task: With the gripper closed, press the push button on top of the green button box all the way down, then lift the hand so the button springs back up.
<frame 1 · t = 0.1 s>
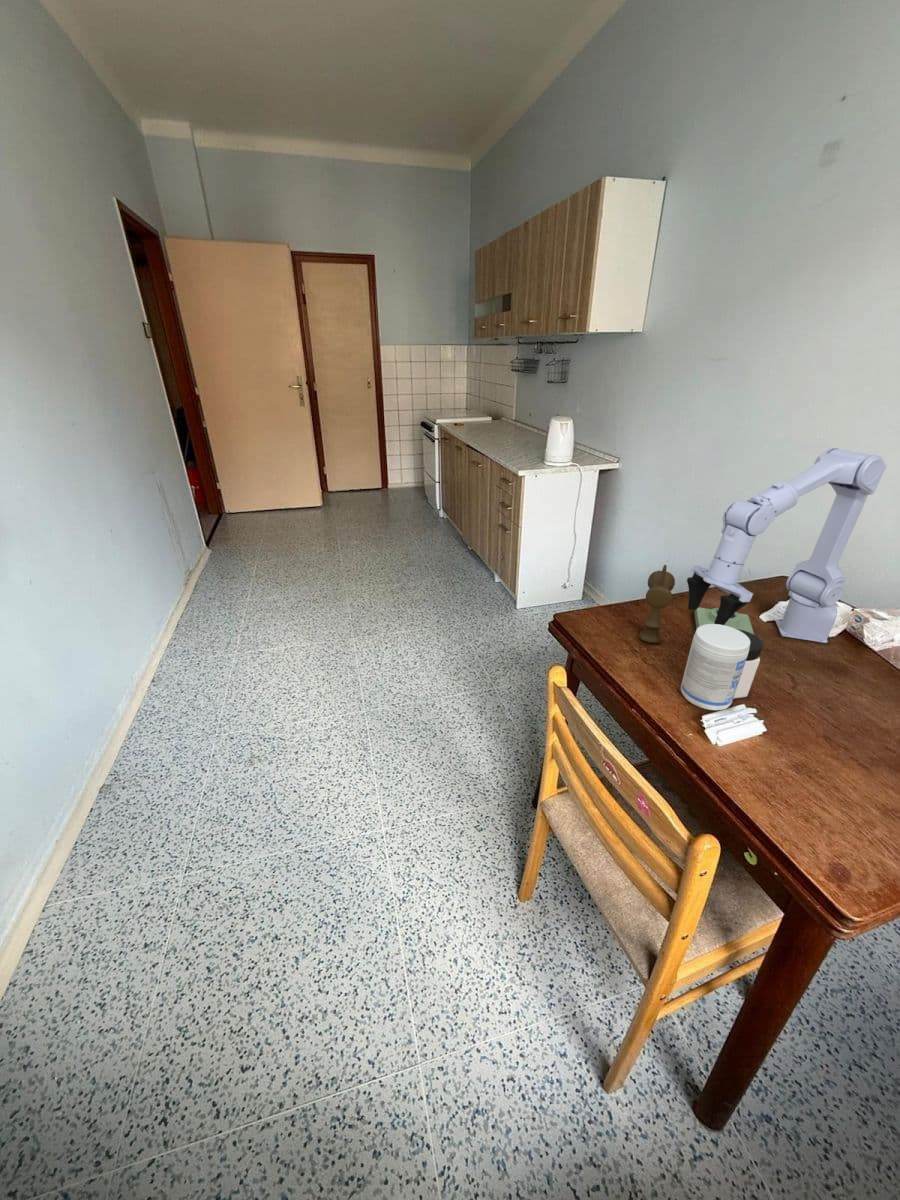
hand: (705, 617, 104), 11 cm above the table, tool pointing down, fingers open, 7 cm apart
kendama: (649, 639, 115), on the table
supplement tub: (704, 697, 96), on the table, touching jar
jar: (723, 687, 99), on the table, touching supplement tub
green button box: (721, 627, 119), on the table
push button: (726, 612, 117), point 4 cm above the table, slide at 0.1 cm
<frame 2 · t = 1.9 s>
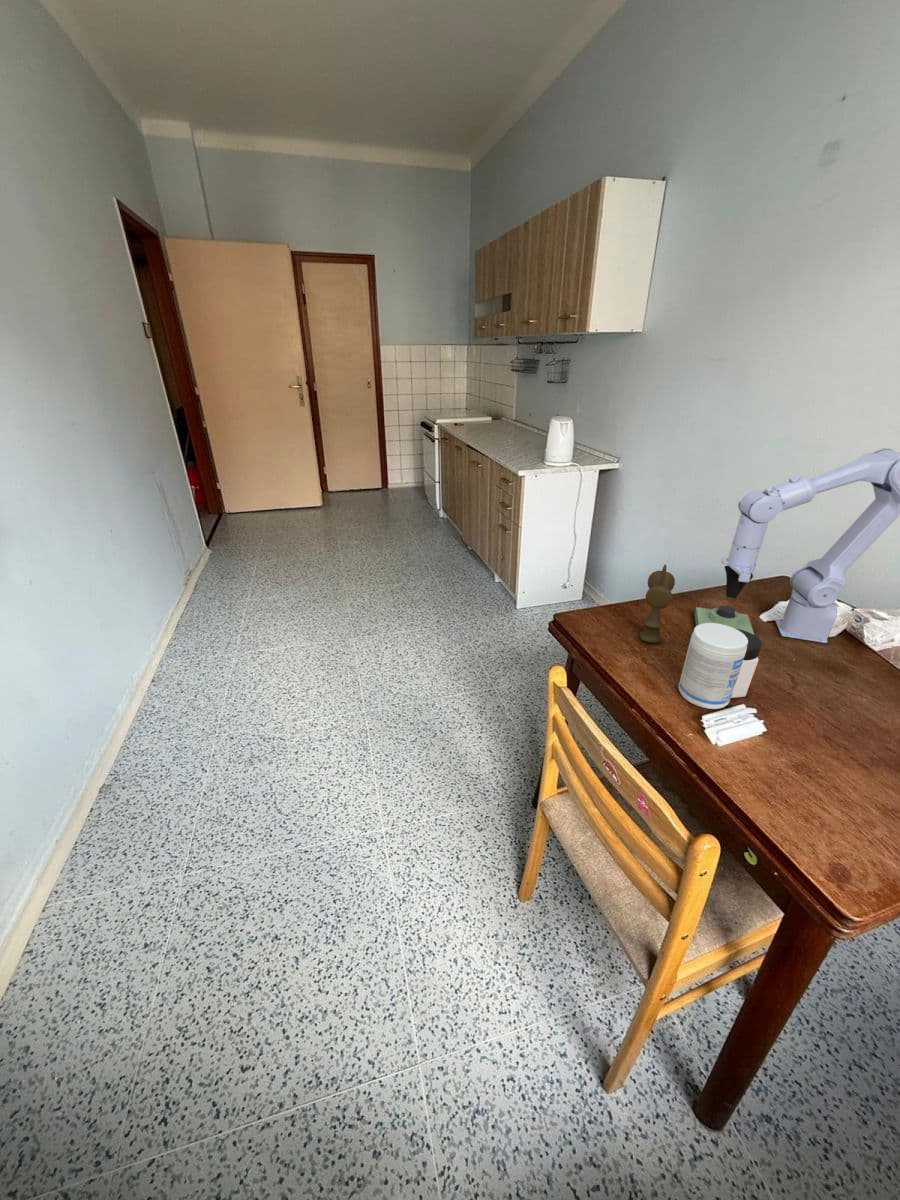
hand: (730, 596, 115), 9 cm above the table, tool pointing down, fingers closed
nothing on the table moved.
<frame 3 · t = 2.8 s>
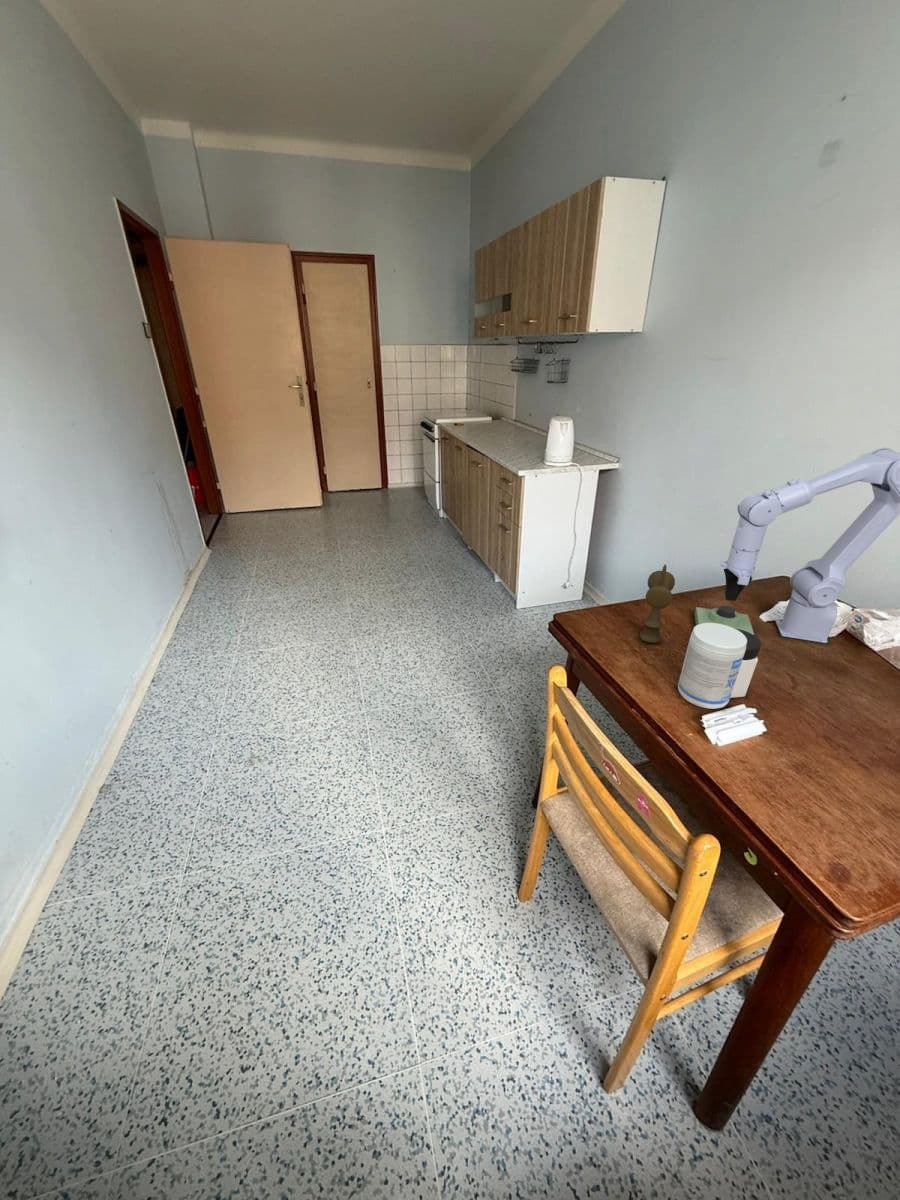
hand: (730, 599, 116), 8 cm above the table, tool pointing down, fingers closed
nothing on the table moved.
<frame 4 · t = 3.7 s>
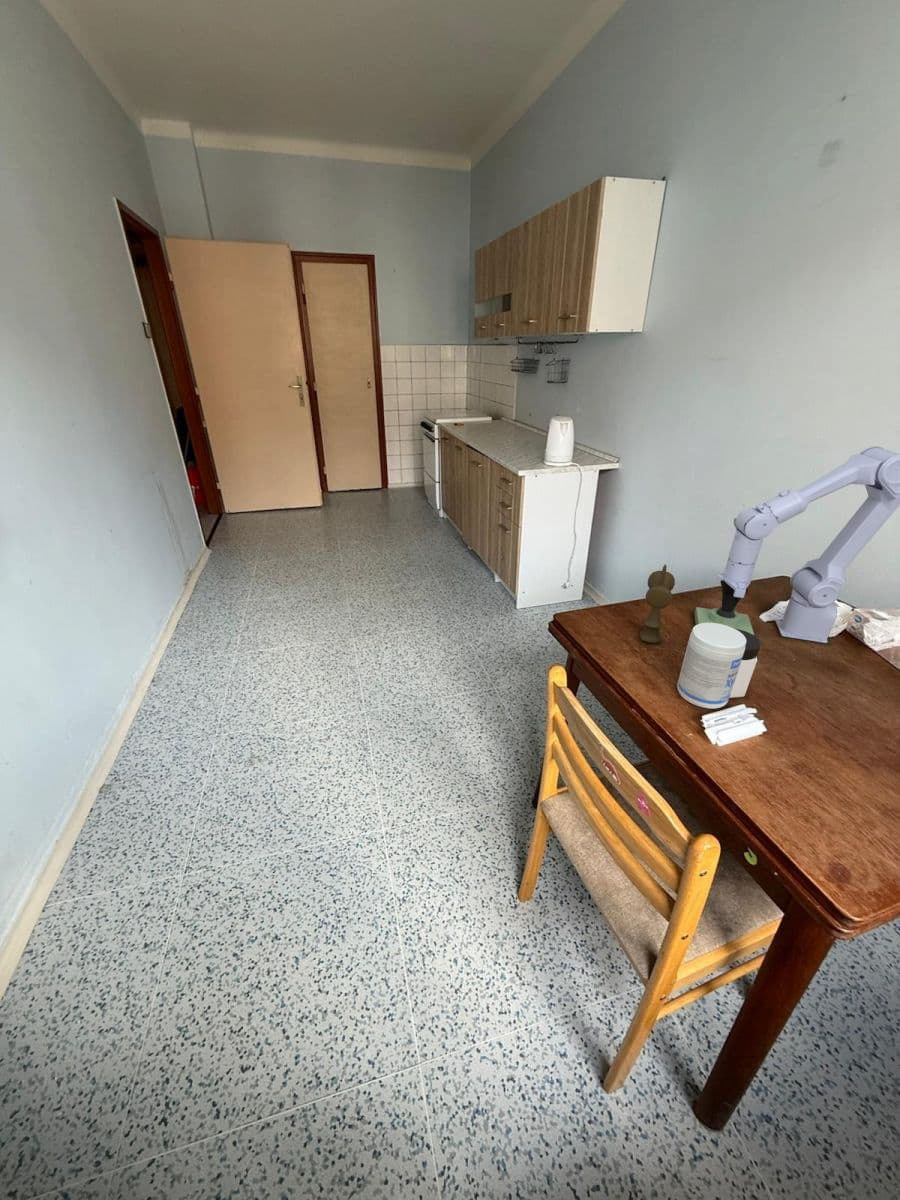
hand: (726, 610, 117), 5 cm above the table, tool pointing down, fingers closed, pressing on push button
push button: (725, 613, 118), point 4 cm above the table, slide at -0.3 cm, touching gripper
everything else where it was.
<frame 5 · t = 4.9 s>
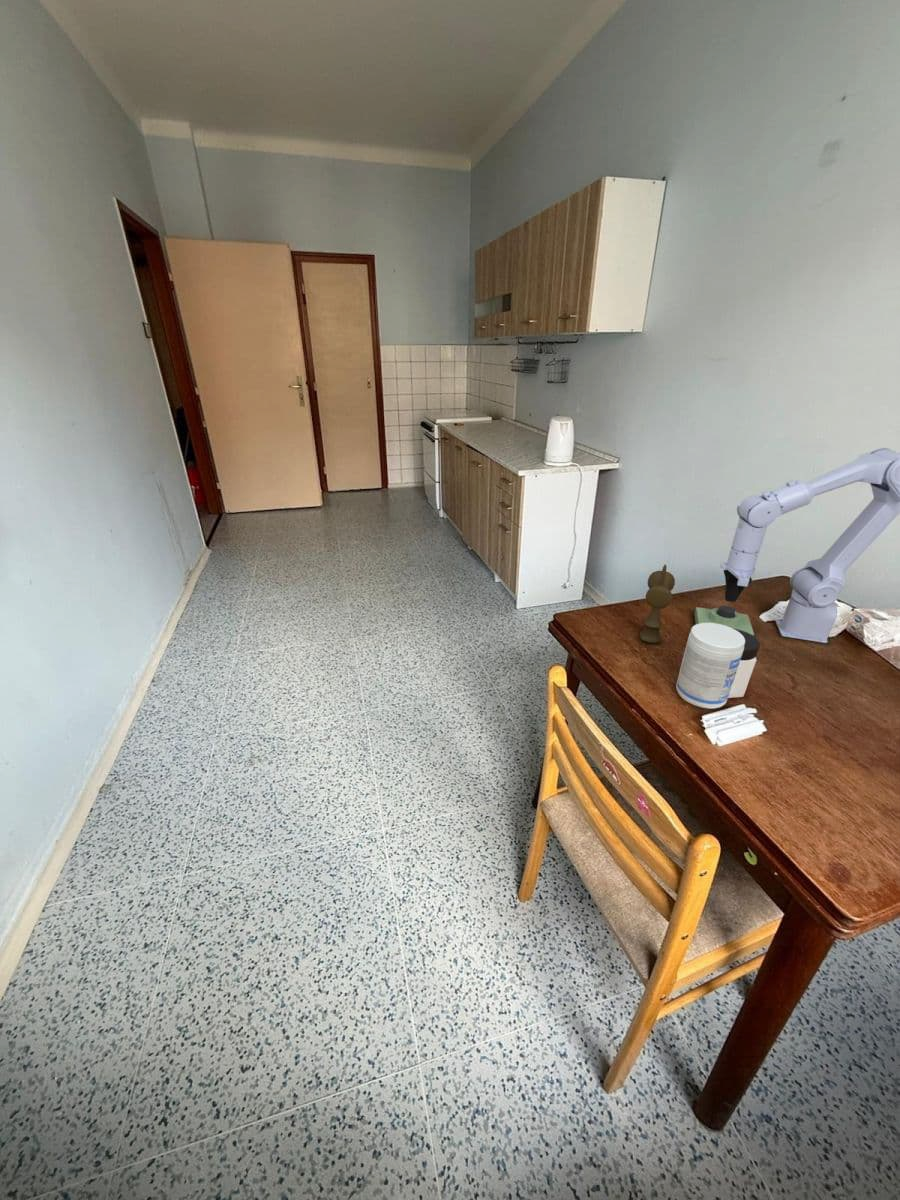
hand: (730, 600, 116), 8 cm above the table, tool pointing down, fingers closed
push button: (726, 612, 117), point 4 cm above the table, slide at 0.1 cm
everything else where it was.
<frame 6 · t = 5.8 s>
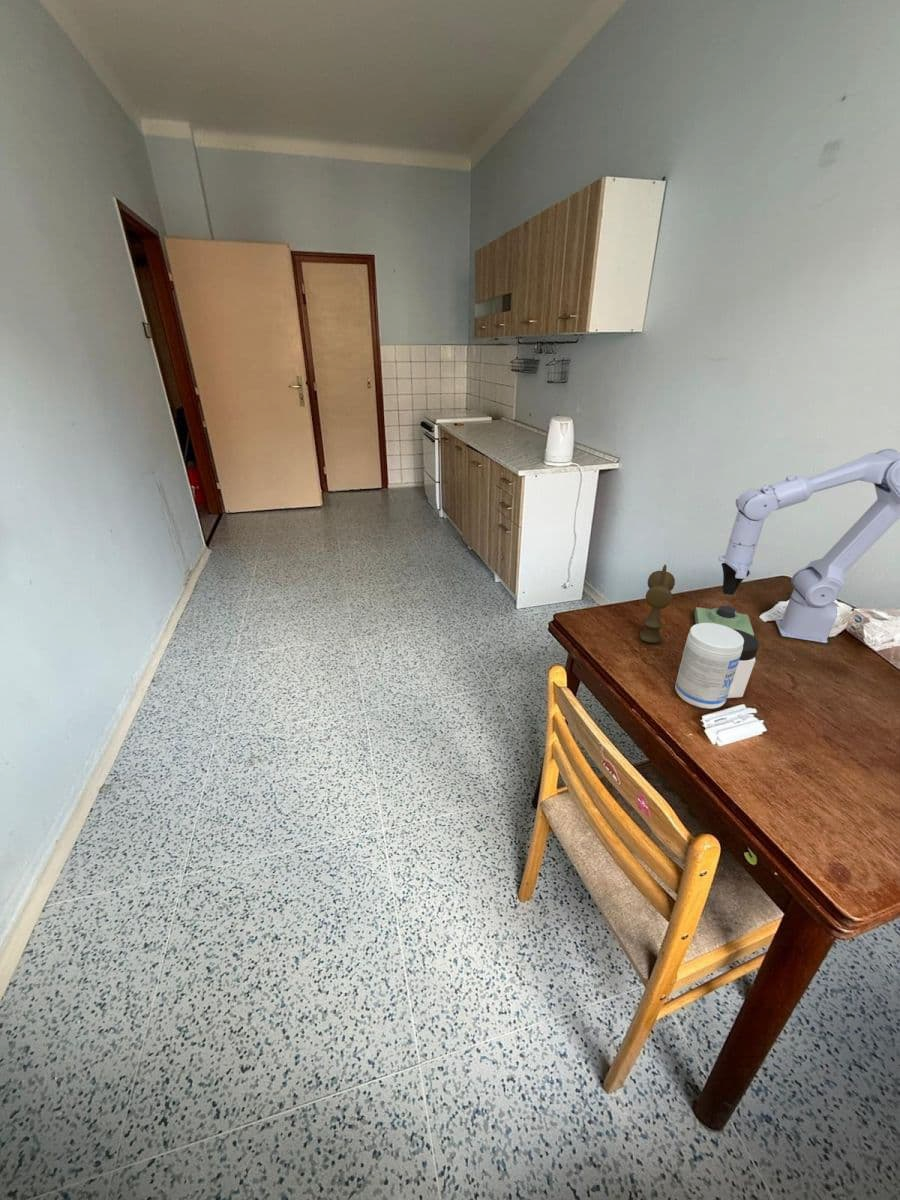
hand: (727, 593, 117), 9 cm above the table, tool pointing down, fingers closed
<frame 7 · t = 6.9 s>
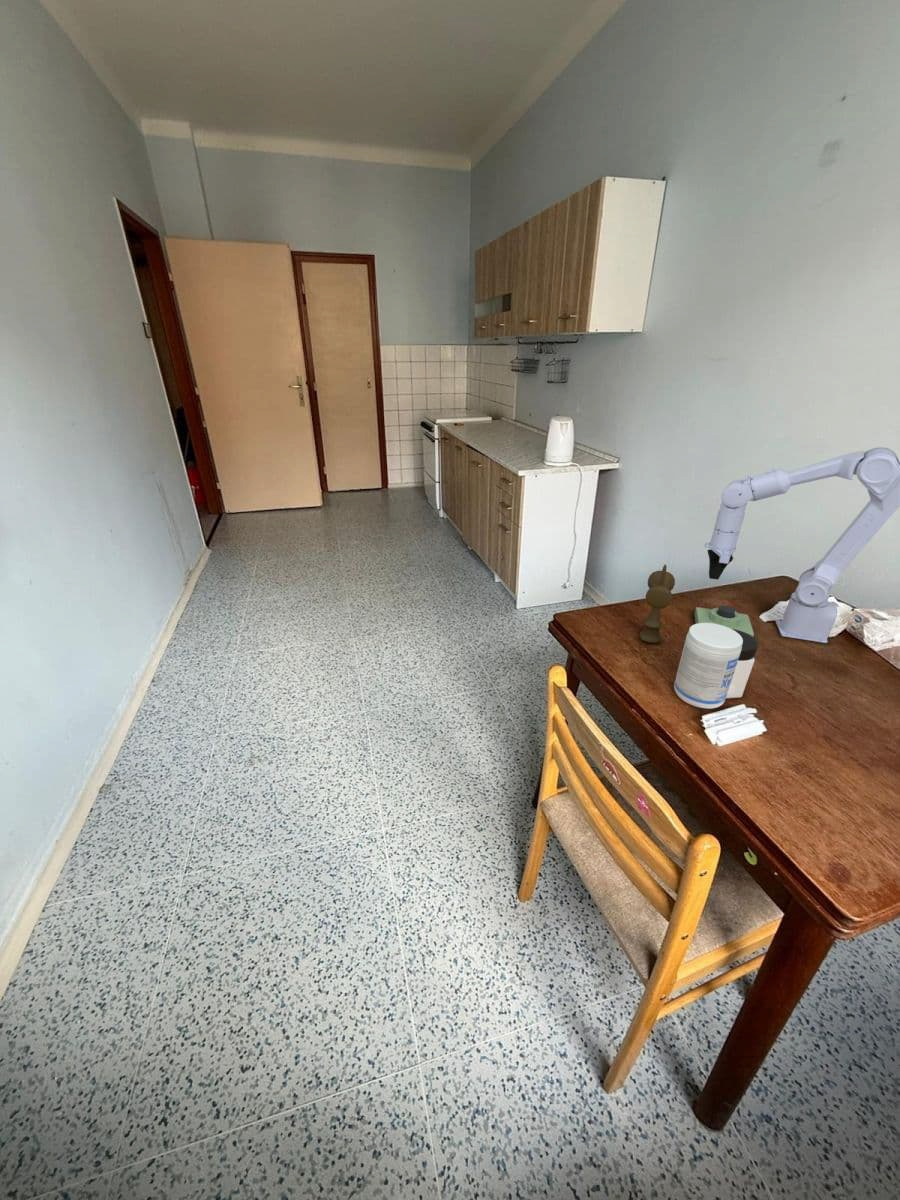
hand: (713, 578, 124), 9 cm above the table, tool pointing down, fingers closed
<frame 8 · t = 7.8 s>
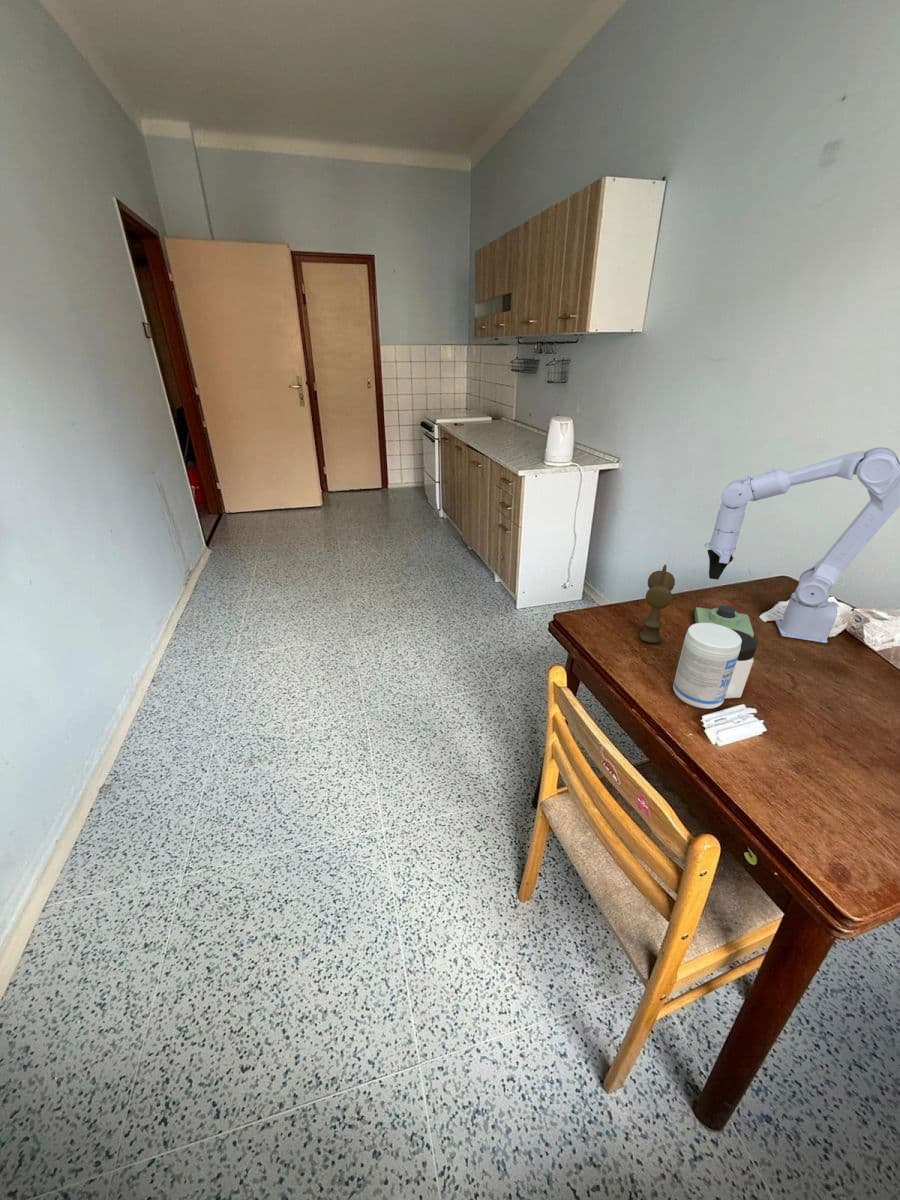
hand: (713, 578, 124), 9 cm above the table, tool pointing down, fingers closed
at the end: push button pushed in 1.2 cm at the most during the clip, back to where it started at the end; push button slide at 0.1 cm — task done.
